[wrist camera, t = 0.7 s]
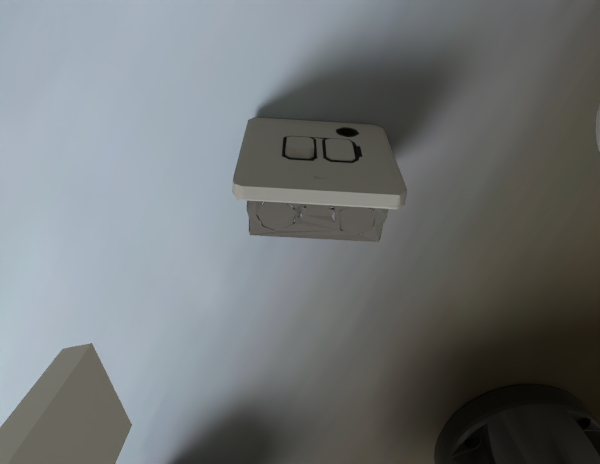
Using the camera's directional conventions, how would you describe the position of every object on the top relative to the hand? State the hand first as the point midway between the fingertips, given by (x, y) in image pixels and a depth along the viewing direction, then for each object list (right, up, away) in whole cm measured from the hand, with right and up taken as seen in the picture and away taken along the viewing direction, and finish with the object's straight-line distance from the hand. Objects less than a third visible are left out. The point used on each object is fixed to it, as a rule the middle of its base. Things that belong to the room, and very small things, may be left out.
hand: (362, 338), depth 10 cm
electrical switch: (0, +8, +20) cm, 22 cm away
